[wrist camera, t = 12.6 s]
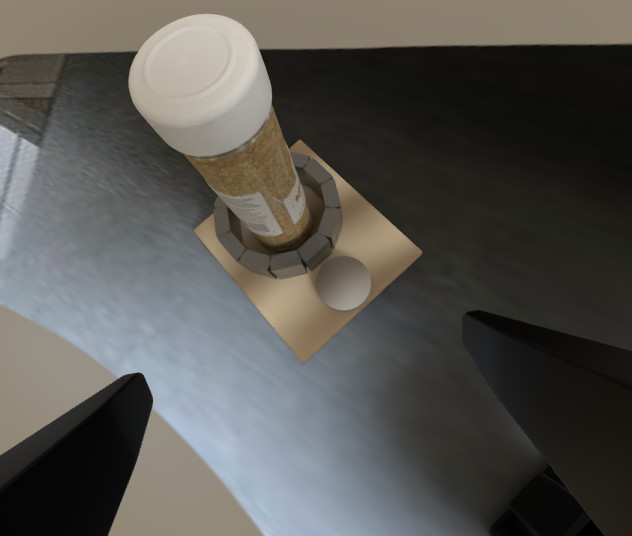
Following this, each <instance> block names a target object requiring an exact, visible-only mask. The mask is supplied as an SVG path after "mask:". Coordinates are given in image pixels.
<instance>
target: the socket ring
mask: <svg viewBox="0 0 632 536" xmlns="http://www.w3.org/2000/svg"><path fill="white" fill-rule="evenodd" d="M289 152H290V151H289ZM290 155H291V157H292V160H293V163H294V166H295V169H296V172H297V175H298V178H299V180H300V183H301V185H304V186H308V187H310V188H311V189H312V190H313V191H314V192H315V193H316V194H317V195H318V196H319V197H320V198H321V199H322V200H323V201H324V204H325V211H324V214H323V217H322V220H321V223H320V226H319V229H318V232H317V233H316V234H314V235H313V236H312V237H311V238H310V239H309V240H308V241H307V242H305V243H304V244H303V245H302V246H301V247H300V248H299V249H297V250H295V251H290V252H286V253H282V254H278V255H273V256H268V255H265V254H261V253H258V252H255V251H251V250H249V249H248V248H247V247H246V246H245V244H244V243H243V237H242V230H241V223H240V222H241V220H240V219H239V218H238V217H237V216H236V215H235V214H234V212H233V211H232V210H231V209H230V208H229V207H228V206H227V205H226V204H225V203H224V201H223V200H222V199H221V198H220V197H219V196H217V199H216V201H215V203H214V207H215V208H216V209H213V215H214V223H215V231H216V237H218V238H219V239H218V241H219V242H220V243H221V244H222V245H223V247H224V248H225V249H226V250H227V251H228V252H229V254H230V255H231V256H232V257H233V258H234V260H235V261H237V262H238V263H239V264H241V265H242V266H244V267H245V268H246V269H248V270H249V271H251V272H253V273H257V274H260V275H263V276H266V277H269V278H273V279H276V280H277V278H279V279H280V280H282V279H286V278H291V277H295V276H299V275H304V274H308V271H307V268H308V269H309V270H310V271H311V272H312V271H313V270H314V269H315V268H316V267H317V266H318V265H319V264H320V263H322V262H323V261H324V260H325V259H326V258H327V257H328V256H329V255H330V254H332V250H331V249H333V250H334V249H335V246H336V243H337V240H338V237H339V234H340V231H341V228H342V225H343V223H342V221H343V218H342V208H341V203H340V199H339V195H338V191H337V187H336V183H335V179H333V176H332V175H331V174H330V173H329V172H328V171H327V170H326V169H325V168H324V167H323V166H322V165H321V164H319V163H318V162H317V161H316V160H315V159H314V158H312V159H310V156H308V155H303V154H299V153H294V152H290Z"/></svg>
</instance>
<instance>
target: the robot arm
mask: <svg viewBox="0 0 632 536" xmlns="http://www.w3.org/2000/svg"><path fill="white" fill-rule="evenodd" d="M462 341H463V344H464V346H465V348H466V349H467V351H468V353H469V354H470V356H471V357H472V359H473V361H474V362H475V364H476V366H477V367H478V369H479V370H480V372H481V374H482V375H483V377H484V378H485V380H486V382H487V383H488V385H489V386H490V388H491V389H492V391H493V392H494V394H495V395H496V396H497V398H498V399H499V400H500V402H501V403H502V404H503V405H504V407H505V408H506V409H507V411H508V412H509V413H510V414H511V416H512V417H513V418H514V420H515V421H516V422H517V423H518V425H519V426H520V427H521V429H522V430H523V431H524V433H525V434H526V435H527V436H528V438H529V439H530V440H531V442H532V443H533V444H534V445H535V447H536V448H537V449H538V451H539V452H540V453H541V454H542V456H543V457H544V458H545V460H546V461H547V462H548V463H549V465H550V466H549V467H548V468H547V469H546V470H545V471H544V472H543V473H542V474H541V473H539V474H538V475H537V476H536V477H535V478H534V479H533V480H532V481H531V482H530V483H529V484H528V485H527V486H526V487H525V488H524V489H523V490H522V491H521V492H520V493H519V494H518V496H517V497H516V498H515V499H514V500H513V501H512V502H511V503H510V508H509V509H508V510H507V511H506V512H505V513H504V514H503V515H502V516H501V518H500V519H499V520H498V521H497V522H496V523H495V524H494V525H493V526H492V527H491V529H490V535H491V536H498V535H499V534H500V533H504V536H632V351H629V350H625V349H621V348H617V347H614V346H610V345H606V344H603V343H599V342H595V341H592V340H588V339H584V338H580V337H577V336H573V335H569V334H566V333H562V332H558V331H555V330H551V329H547V328H543V327H540V326H536V325H532V324H529V323H525V322H521V321H518V320H514V319H510V318H506V317H503V316H499V315H495V314H492V313H488V312H484V311H480V310H475V311H470V312H465V313H464V314H463V317H462ZM152 405H153V397H152V394H151V391H150V389H149V386H148V384H147V382H146V379H145V377H144V375H143V374H142V373H139V372H138V373H132V374H127V375H124V376H122V377H120V378H119V379H117V380H116V381H114V382H113V383H112V384H110V385H108V386H107V387H105V388H104V389H102V390H100V391H99V392H97V393H96V394H95V395H93V396H91V397H90V398H88V399H87V400H85V401H84V402H82V403H80V404H79V405H77V406H76V407H74V408H73V409H71V410H70V411H68V412H67V413H65V414H63V415H62V416H60V417H59V418H57V419H56V420H54V421H53V422H51V423H50V424H48V425H46V426H45V427H43V428H42V429H40V430H39V431H37V432H36V433H34V434H33V435H31V436H29V437H28V438H26V439H25V440H23V441H22V442H20V443H19V444H17V445H16V446H14V447H13V448H11V449H10V450H8V451H7V452H5V453H3V454H2V455H0V536H108V534H109V532H110V529H111V526H112V524H113V521H114V519H115V516H116V514H117V511H118V508H119V506H120V503H121V501H122V498H123V496H124V493H125V490H126V488H127V485H128V483H129V480H130V478H131V475H132V472H133V470H134V467H135V464H136V461H137V458H138V455H139V452H140V448H141V445H142V441H143V438H144V434H145V430H146V427H147V423H148V420H149V416H150V413H151V409H152Z"/></svg>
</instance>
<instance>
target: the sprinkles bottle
mask: <svg viewBox="0 0 632 536" xmlns="http://www.w3.org/2000/svg"><path fill="white" fill-rule="evenodd" d="M129 91H130V95H131V98H132V101H133V103H134V105H135V107H136V108H137V109H138V111H139V112H140V113H141V115H142V116H143V117H144V118H145V119H146V121H147V122H148V123H149V124H150V125H151V126H152V127H153V129H154V130H155V131H156V132H157V133H158V134H159V135H160V136H161V137H162V139H163V140H164V141H165V142H166V143H167V144H168V145H169V146H171V147H172V148H173V149H175V150H177V151H179V152H181V153H182V154H183V155H184V156H185V157H186V158H187V159H188V160H189V161H190V162H191V164H192V165H193V166H194V167H195V168H196V169H197V170H198V171H199V173H200V174H201V175H202V176H203V177H204V179H205V181H206V182H207V184H208V185H209V186H210V187H211V188H212V189H213V190H214V192H215V193H216V194H217V195H218V196H219V197H220V198H221V199H222V200H223V201H224V203H225V204H226V205H227V206H228V207H229V208H230V209H231V210H232V211H233V212H234V214H235V215H236V216H237V217H238V218H239V219H240V220H241V221H242V222H243V223H244V225H245V226H246V227H247V228H248V229H250V230H251V231H252V232H253V233H254V235H255V237H256V238H257V240H258V241H259V242H260V243H261V244H262V245H263V246H264V247H266V248H267V249H269V250H272V251H276V252H286V251H290V250H293V249H295V248H297V247H300V246H301V245H302V244H303V243H304V242H305V241H306V240H307V238H308V237H309V235H310V233H311V230H312V227H313V215H312V211H311V209H310V207H309V206H308V204H307V202H306V199H305V194H304V191H303V188H302V185H301V183H300V180H299V178H298V175H297V172H296V169H295V166H294V163H293V160H292V157H291V155H290V152H289V149H288V146H287V144H286V142H285V140H284V138H283V135H282V132H281V129H280V126H279V123H278V121H277V118H276V115H275V113H274V109H273V106H272V103H271V102H272V89H271V84H270V81H269V77H268V74H267V71H266V68H265V65H264V62H263V60H262V57H261V54H260V51H259V49H258V46H257V44H256V41H255V40H254V38H253V36H252V35H251V34H250V33H249V31H248V30H247V29H246V28H245V27H244V26H242V25H241V24H240V23H238V22H237V21H235V20H233V19H230V18H228V17H225V16H221V15H214V14H199V15H192V16H188V17H184V18H181V19H178V20H176V21H174V22H172V23H170V24H168V25H166V26H164V27H163V28H162V29H160V30H159V31H157V32H156V33H155V34H153V35H152V36H151V37H150V38H149V39H148V40H147V41H146V42H145V43H144V45H143V46H142V47H141V48H140V50H139V51H138V53H137V55H136V56H135V58H134V61H133V63H132V66H131V69H130V74H129Z"/></svg>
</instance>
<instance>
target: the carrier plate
mask: <svg viewBox="0 0 632 536" xmlns="http://www.w3.org/2000/svg"><path fill="white" fill-rule="evenodd" d="M289 151H290V152H294V153H299V154H303V155H308V156H310V159H312V158H314V159H315V160H316V161H317V162H318V163H319V164H321V165H322V166H323V167H324V168H325V169H326V170H327V171H328V172H329V173H330V174H331V175H332V176H333V179H335V183H336V187H337V191H338V195H339V199H340V203H341V208H342V218H343V221H342V223H343V225H342V228H341V231H340V234H339V237H338V240H337V243H336V246H335V249H334V250H333V249H331V250H332V254H330V255H329V256H328V257H327V258H326V259H325V260H324V261H323V262H322V263H320V264H319V265H318V266H317V267H316V268H315V269H314V270H313V271H312V272H311V271H310V270H309V269H308V268H307V271H308V274H304V275H299V276H295V277H291V278H286V279H282V280H280V279H279V278H277V280H276V279H273V278H269V277H266V276H263V275H260V274H257V273H253V272H251V271H249V270H248V269H246V268H245V267H244V266H242V265H241V264H239V263H238V262H237V261H235V260H234V258H233V257H232V256H231V255H230V254H229V252H228V251H227V250H226V249H225V248H224V247H223V245H222V244H221V243H220V242H219V241H218V239H219V238H218V237H216V231H215V223H214V215H213V214H212V215H210V216H209V217H208V218H207V219H206V220H205V221H203V222H202V223H201V224H200V225H199V226H198V227H196V228H195V229H194V230H193V231H194V232H195V233H196V235H197V236H198V237H199V238H200V239H201V241H202V242H203V243H204V244H205V246H206V247H207V248H208V249H209V250H210V252H211V253H212V254H213V255H214V256H215V258H216V259H217V260H218V261H219V263H220V264H221V265H222V266H223V267H224V269H225V270H226V271H227V272H228V273H229V275H230V276H231V277H232V278H233V279H234V281H235V282H236V283H237V284H238V286H239V287H240V288H241V289H242V290H243V292H244V293H245V294H246V295H247V296H248V298H249V299H250V300H251V301H252V302H253V304H254V305H255V306H256V307H257V309H258V310H259V311H260V312H261V313H262V315H263V316H264V317H265V318H266V319H267V321H268V322H269V323H270V324H271V326H272V327H273V328H274V329H275V330H276V332H277V333H278V334H279V335H280V336H281V338H282V339H283V340H284V341H285V342H286V344H287V345H288V346H289V347H290V349H291V350H292V351H293V352H294V353H295V355H296V356H297V357H298V358H299V359H300V361H301V362H302V363H305V362H307V361H308V360H309V359H310V358H311V357H312V356H313V355H314V354H315V353H316V352H317V351H318V350H319V349H321V348H322V347H323V346H324V345H325V344H326V343H327V342H328V341H329V340H330V339H331V338H332V337H333V336H335V335H336V334H337V333H338V332H339V331H340V330H341V329H342V328H343V327H344V326H345V325H346V324H348V323H349V322H350V321H351V320H352V319H353V318H354V317H355V316H356V315H357V314H358V313H359V312H360V311H362V310H363V309H364V308H365V307H366V306H367V305H368V304H369V303H370V302H371V301H372V300H373V299H374V298H376V297H377V296H378V295H379V294H380V293H381V292H382V291H383V290H384V289H385V288H386V287H387V286H388V285H390V284H391V283H392V282H393V281H394V280H395V279H396V278H397V277H398V276H399V275H400V274H401V273H402V272H404V271H405V270H406V269H407V268H408V267H409V266H410V265H411V264H412V263H413V262H414V261H415V260H416V259H418V258H419V257H420V255H421V254H422V253H423V252H422V251H421V250H420V249H419V248H418V247H417V246H416V245H415V244H413V243H412V242H411V241H410V240H409V239H408V238H407V237H406V236H405V235H404V234H403V233H401V232H400V231H399V230H398V229H397V228H396V227H395V226H394V225H393V224H392V223H391V222H389V221H388V220H387V219H386V218H385V217H384V216H383V215H382V214H381V213H380V212H379V211H377V210H376V209H375V208H374V207H373V206H372V205H371V204H370V203H369V202H368V201H367V200H365V199H364V198H363V197H362V196H361V195H360V194H359V193H358V192H357V191H356V190H354V189H353V188H352V187H351V186H350V185H349V184H348V183H347V182H346V181H345V180H344V179H342V178H341V177H340V176H339V175H338V174H337V173H336V172H335V171H334V170H333V169H332V168H330V167H329V166H328V165H327V164H326V163H325V162H324V161H323V160H322V159H321V158H320V157H318V156H317V155H316V154H315V153H314V152H313V151H312V150H311V149H310V148H309V147H308V146H306V145H305V144H304V143H303V142H302V141H301V140H299V141H297V142H296V143H295V144H294V145H293V146H292V147H290V148H289ZM302 188H303V191H304V194H305V199H306V202H307V204H308V206H309V207H310V209H311V211H312V215H313V227H312V230H311V233H310V235H309V237H308V238H307V240H306V241H305V242H307V241H308V240H309V239H310V238H311V237H312V236H313V235H314V234H316V233H317V232H318V229H319V226H320V223H321V220H322V217H323V214H324V211H325V204H324V201H323V200H322V199H321V198H320V197H319V196H318V195H317V194H316V193H315V192H314V191H313V190H312V189H311V188H310V187H308V186H304V185H302ZM240 223H241V230H242V237H243V243H244V244H245V246H246V247H247V248H248V249H249V250H251V251H255V252H258V253H261V254H265V255H268V256H273V255H278V254H282V253H286V252H290V251H295V250H297V249H299V248H300V247H301V246H302V245H303V244H304V243H305V242H304V243H303V244H302V245H301V246H300V247H297V248H295V249H293V250H290V251H286V252H276V251H272V250H269V249H267V248H266V247H264V246H263V245H262V244H261V243H260V242H259V241H258V240H257V238H256V237H255V235H254V233H253V232H252V231H251V230H250V229H248V228H247V227H246V226H245V225H244V223H243V222H242V221H241V222H240Z"/></svg>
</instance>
